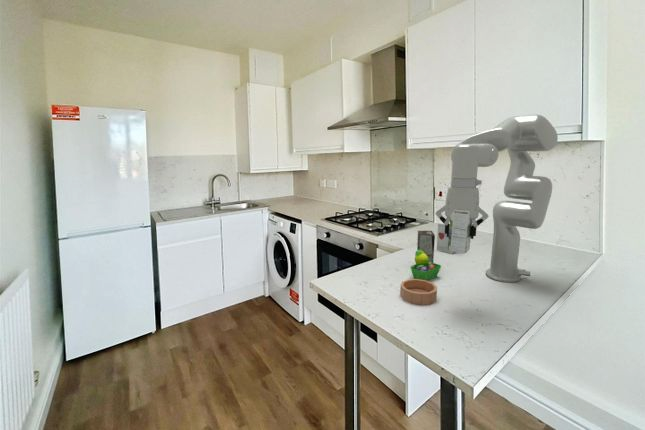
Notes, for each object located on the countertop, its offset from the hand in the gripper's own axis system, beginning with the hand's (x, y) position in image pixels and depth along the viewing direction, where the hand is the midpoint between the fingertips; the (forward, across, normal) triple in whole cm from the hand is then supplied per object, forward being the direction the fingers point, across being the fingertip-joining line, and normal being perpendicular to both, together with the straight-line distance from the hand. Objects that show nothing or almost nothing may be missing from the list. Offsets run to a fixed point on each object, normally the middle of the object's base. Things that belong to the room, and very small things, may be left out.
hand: (459, 236), depth 106 cm
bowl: (+24, +12, 0) cm, 27 cm away
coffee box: (+24, +13, -31) cm, 41 cm away
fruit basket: (+24, +12, -19) cm, 33 cm away
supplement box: (+24, +3, -60) cm, 65 cm away
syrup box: (+5, 0, 0) cm, 5 cm away
